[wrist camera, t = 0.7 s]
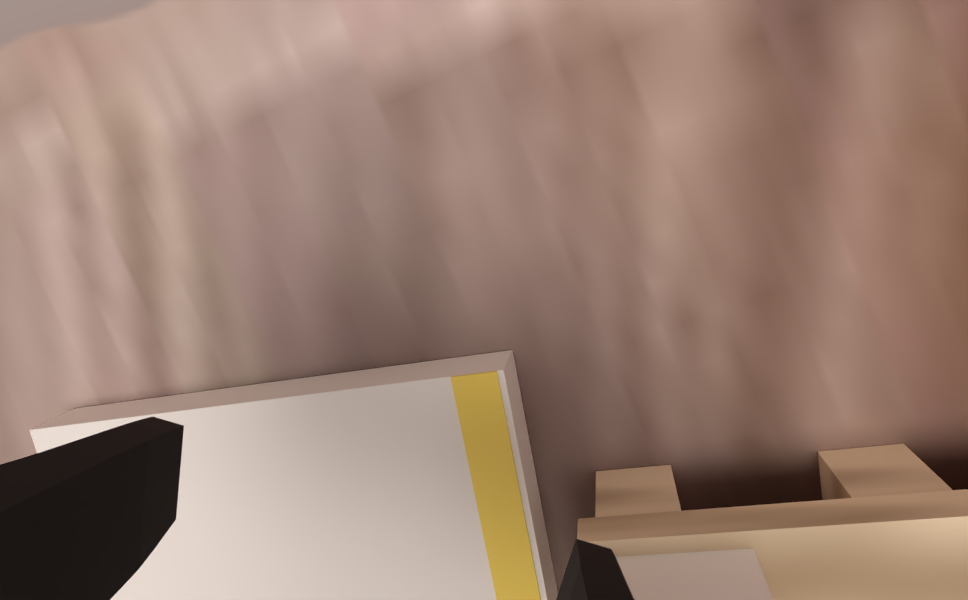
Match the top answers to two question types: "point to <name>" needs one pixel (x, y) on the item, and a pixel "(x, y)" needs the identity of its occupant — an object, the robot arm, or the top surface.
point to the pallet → (809, 528)
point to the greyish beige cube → (696, 576)
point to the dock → (346, 487)
